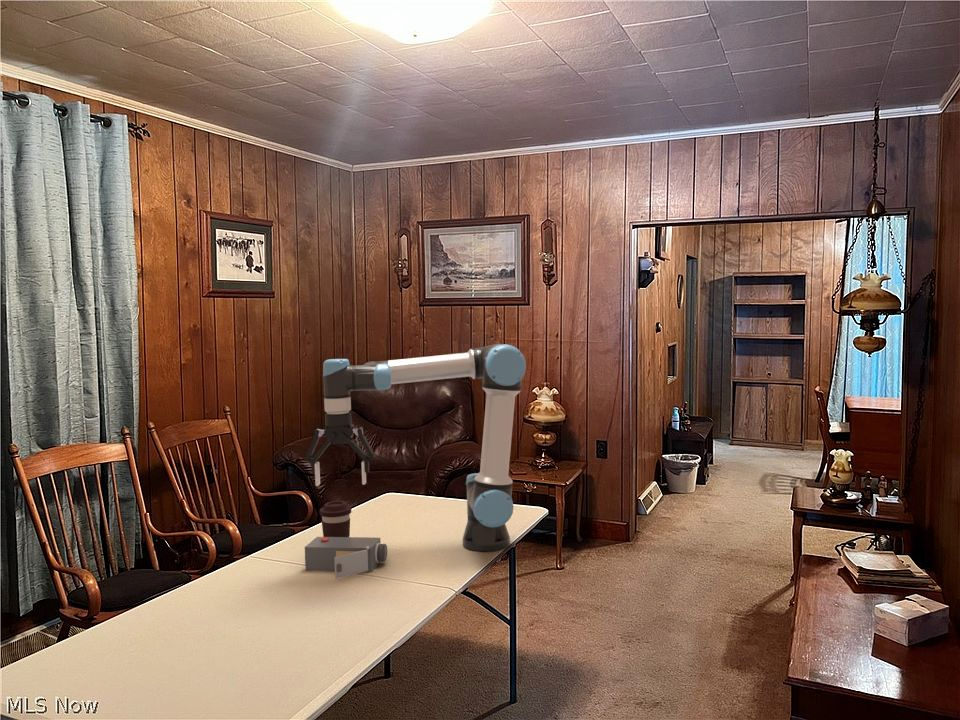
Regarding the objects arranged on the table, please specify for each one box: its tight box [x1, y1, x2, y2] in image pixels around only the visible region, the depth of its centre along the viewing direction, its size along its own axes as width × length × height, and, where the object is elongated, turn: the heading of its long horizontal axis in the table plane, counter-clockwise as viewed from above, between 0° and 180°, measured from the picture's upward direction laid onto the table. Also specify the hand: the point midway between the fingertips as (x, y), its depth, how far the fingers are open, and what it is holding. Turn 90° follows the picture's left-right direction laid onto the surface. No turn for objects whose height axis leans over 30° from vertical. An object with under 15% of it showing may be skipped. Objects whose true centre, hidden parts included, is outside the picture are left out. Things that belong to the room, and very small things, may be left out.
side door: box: [334, 550, 368, 580], centre depth 204 cm, size 10×1×6 cm, turn 127°
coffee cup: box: [319, 500, 352, 537], centre depth 229 cm, size 10×10×15 cm
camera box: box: [304, 536, 388, 573], centre depth 213 cm, size 22×11×8 cm, turn 82°
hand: (341, 484), depth 210 cm, fingers open, 13 cm apart
